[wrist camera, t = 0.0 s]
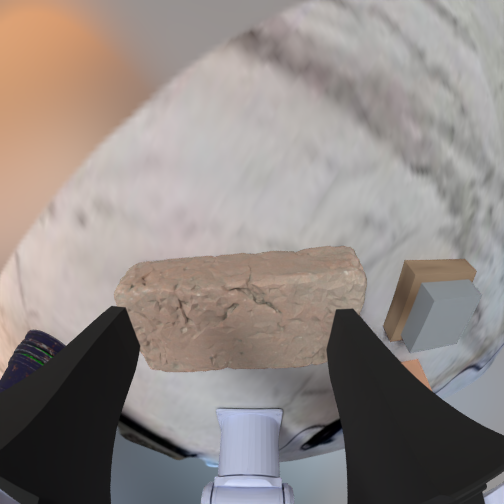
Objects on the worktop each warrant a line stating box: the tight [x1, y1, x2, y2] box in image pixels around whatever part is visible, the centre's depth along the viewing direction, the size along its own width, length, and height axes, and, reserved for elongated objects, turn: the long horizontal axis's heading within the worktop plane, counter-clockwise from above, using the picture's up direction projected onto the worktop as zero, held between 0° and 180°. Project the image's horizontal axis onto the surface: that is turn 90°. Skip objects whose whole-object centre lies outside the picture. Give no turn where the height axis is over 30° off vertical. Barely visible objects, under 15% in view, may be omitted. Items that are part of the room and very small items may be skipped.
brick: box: [114, 246, 367, 372], centre depth 20 cm, size 17×8×5 cm, turn 95°
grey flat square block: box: [401, 279, 482, 353], centre depth 18 cm, size 6×6×2 cm
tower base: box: [383, 259, 477, 342], centre depth 21 cm, size 7×7×2 cm
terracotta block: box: [401, 359, 432, 391], centre depth 25 cm, size 4×4×5 cm
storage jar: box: [0, 330, 65, 393], centre depth 21 cm, size 10×10×15 cm
